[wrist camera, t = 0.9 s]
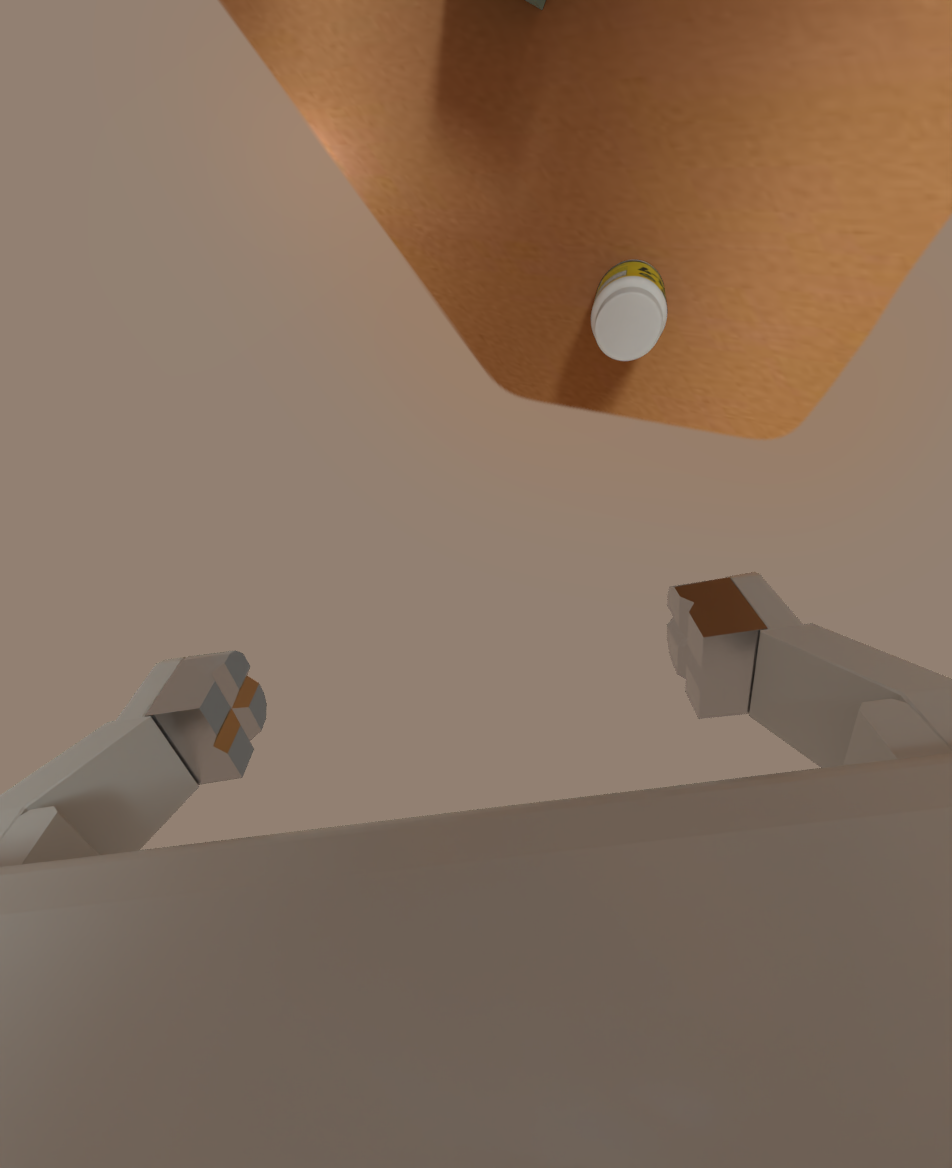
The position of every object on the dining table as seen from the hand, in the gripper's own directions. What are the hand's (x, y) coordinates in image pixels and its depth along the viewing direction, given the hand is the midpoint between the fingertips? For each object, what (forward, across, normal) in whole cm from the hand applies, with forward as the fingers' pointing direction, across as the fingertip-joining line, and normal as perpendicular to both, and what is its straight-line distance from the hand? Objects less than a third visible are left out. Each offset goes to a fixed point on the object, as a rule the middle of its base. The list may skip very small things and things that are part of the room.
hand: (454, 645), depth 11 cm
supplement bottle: (+37, -12, 0) cm, 39 cm away
